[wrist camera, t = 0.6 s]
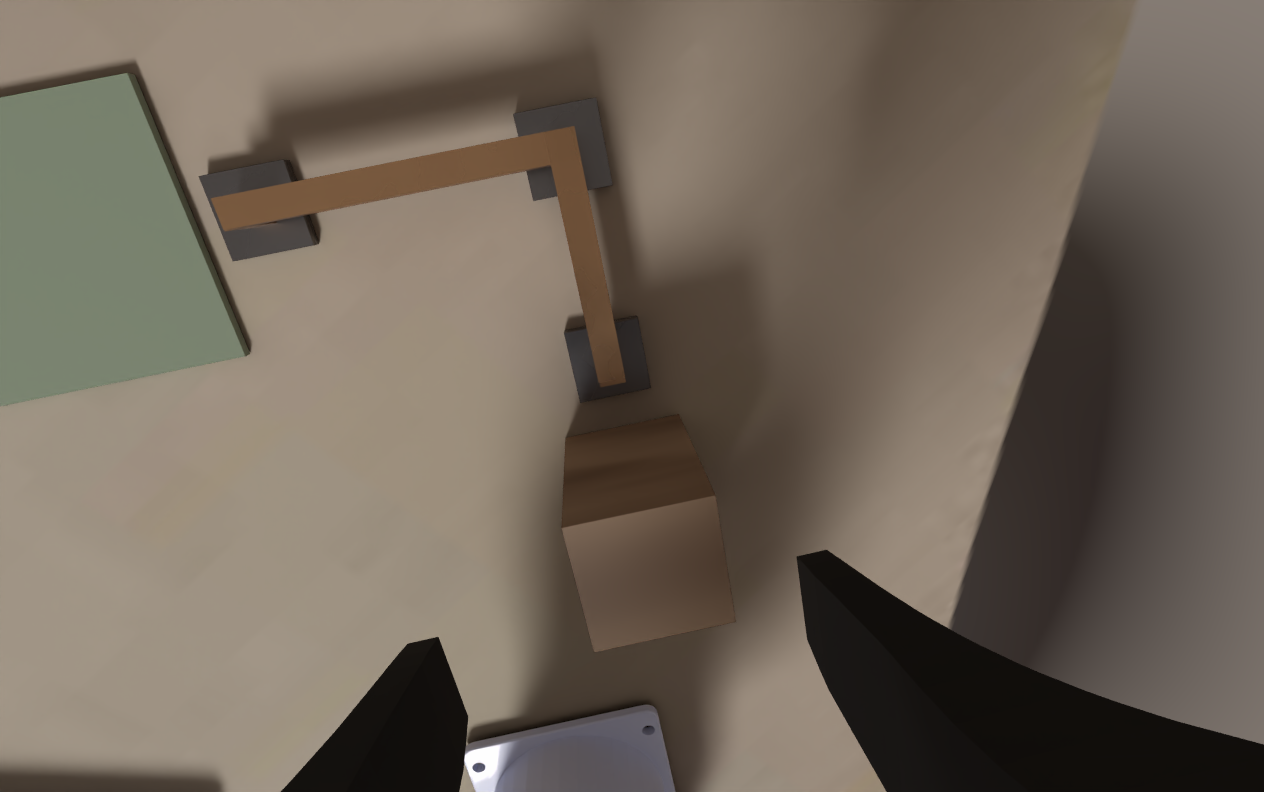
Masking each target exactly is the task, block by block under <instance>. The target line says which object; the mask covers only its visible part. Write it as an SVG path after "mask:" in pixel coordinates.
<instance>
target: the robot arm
mask: <svg viewBox="0 0 1264 792" xmlns="http://www.w3.org/2000/svg"><path fill="white" fill-rule="evenodd" d="M797 564H798V572H799V579H800V587H801V595H802V603H803V610H804V618H805V626H806V633H807V640H808V642H809V645H810V647H811V650H812V652H813V654H814V657H815V659H816V662H817V664H818V666H819V669H820V671H821V673H822V676H823V678H824V680H825V683H826V685H827V687H828V689H829V691H830V693H831V694H832V696H833V698H834V700H835V702H836V703H837V705H838V707H839V709H840V711H841V712H842V714H843V716H844V718H845V719H846V721H847V723H848V725H849V727H850V728H851V730H852V732H853V734H854V735H855V737H856V739H857V741H858V742H859V744H860V746H861V748H862V749H863V751H864V753H865V755H866V756H867V758H868V760H869V762H870V763H871V765H872V767H873V769H874V770H875V772H876V774H877V776H878V777H879V779H880V781H881V783H882V784H883V786H884V788H885V790H886V791H887V792H1264V745H1263V744H1259V743H1256V742H1252V741H1248V740H1245V739H1241V738H1237V737H1233V736H1230V735H1226V734H1222V733H1218V732H1215V731H1211V730H1207V729H1203V728H1200V727H1196V726H1192V725H1188V724H1185V723H1181V722H1177V721H1174V720H1171V719H1167V718H1164V717H1161V716H1158V715H1155V714H1152V713H1149V712H1146V711H1143V710H1140V709H1137V708H1133V707H1130V706H1127V705H1124V704H1121V703H1118V702H1115V701H1112V700H1109V699H1107V698H1104V697H1101V696H1098V695H1096V694H1093V693H1090V692H1087V691H1084V690H1082V689H1079V688H1077V687H1074V686H1072V685H1069V684H1067V683H1064V682H1062V681H1059V680H1057V679H1054V678H1051V677H1049V676H1046V675H1044V674H1041V673H1039V672H1037V671H1034V670H1032V669H1030V668H1028V667H1025V666H1023V665H1020V664H1018V663H1016V662H1014V661H1012V660H1010V659H1008V658H1006V657H1003V656H1001V655H999V654H997V653H995V652H993V651H991V650H989V649H987V648H984V647H982V646H980V645H978V644H976V643H974V642H972V641H970V640H969V639H967V638H965V637H963V636H961V635H959V634H957V633H955V632H954V631H952V630H950V629H948V628H947V627H945V626H943V625H941V624H939V623H938V622H936V621H934V620H932V619H931V618H929V617H927V616H925V615H924V614H922V613H920V612H919V611H917V610H916V609H914V608H912V607H911V606H909V605H908V604H906V603H905V602H903V601H901V600H900V599H898V598H897V597H895V596H893V595H892V594H890V593H889V592H887V591H886V590H884V589H883V588H881V587H880V586H878V585H877V584H875V583H874V582H872V581H871V580H870V579H868V578H867V577H865V576H864V575H862V574H861V573H859V572H858V571H857V570H855V569H854V568H852V567H851V566H849V565H848V564H847V563H845V562H844V561H842V560H841V559H839V558H838V557H836V556H835V555H833V554H832V553H830V552H829V551H828V550H824V551H819V552H815V553H810V554H806V555H801V556H797ZM467 725H468V715H467V712H466V710H465V707H464V704H463V701H462V699H461V696H460V693H459V691H458V688H457V685H456V683H455V680H454V677H453V675H452V672H451V669H450V667H449V664H448V661H447V659H446V656H445V653H444V651H443V648H442V645H441V643H440V640H439V637H436V638H431V639H427V640H422V641H418V642H413V643H409V644H407V645H406V646H405V648H404V649H403V650H402V651H401V652H400V653H399V654H398V656H397V657H396V658H395V659H394V660H393V662H392V663H391V664H390V665H389V666H388V668H387V669H386V670H385V671H384V673H383V674H382V675H381V676H380V678H379V679H378V680H377V681H376V682H375V684H374V685H373V686H372V687H371V689H370V690H369V691H368V692H367V694H366V695H365V696H364V697H363V698H362V700H361V701H360V702H359V703H358V704H357V706H356V707H355V708H354V709H353V711H352V712H351V713H350V714H349V715H348V717H347V718H346V719H345V720H344V721H343V723H342V724H341V725H340V726H339V727H338V729H337V730H336V731H335V732H334V733H333V734H332V736H331V737H330V738H329V739H328V740H327V741H326V742H325V743H324V745H323V746H322V747H321V748H320V749H319V750H318V751H317V752H316V753H315V755H314V756H313V757H312V758H311V759H310V760H309V761H308V762H307V764H306V765H305V766H304V767H303V768H302V769H301V770H300V771H299V773H298V774H297V775H296V776H295V777H294V778H293V779H292V780H291V781H290V782H289V784H288V785H287V786H286V787H285V788H284V789H283V790H282V791H281V792H459V790H460V785H461V780H462V775H463V768H464V763H465V765H466V768H467V771H468V773H469V776H470V779H471V781H472V784H473V786H474V789H475V792H676V791H675V787H674V782H673V778H672V773H671V769H670V765H669V760H668V756H667V752H666V747H665V743H664V738H663V734H662V730H661V725H660V721H659V717H658V712H657V710H656V708H655V707H653V706H651V705H641V706H636V707H631V708H627V709H622V710H618V711H613V712H609V713H604V714H599V715H595V716H590V717H586V718H581V719H576V720H572V721H567V722H563V723H558V724H554V725H549V726H544V727H540V728H535V729H531V730H526V731H521V732H517V733H512V734H508V735H503V736H499V737H494V738H489V739H485V740H480V741H476V742H472V743H470V744H468V745H467V746H466V737H467ZM650 725H651V726H650ZM645 726H650V727H645ZM478 763H483V764H478Z"/></svg>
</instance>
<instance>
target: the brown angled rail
mask: <svg viewBox="0 0 1264 792" xmlns="http://www.w3.org/2000/svg"><path fill="white" fill-rule="evenodd" d="M513 115H514V119H515V124H516V128H517V132H518V137H516V138H511V139H506V140H501V141H496V142H491V143H486V144H481V145H476V146H471V147H466V148H461V149H456V150H451V151H446V152H441V153H436V154H431V155H426V156H421V157H416V158H411V159H406V160H401V161H396V162H391V163H386V164H381V165H376V166H371V167H366V168H360V169H355V170H350V171H345V172H340V173H335V174H330V175H325V176H320V177H315V178H310V179H305V180H300V181H297V180H296V177H295V174H294V172H293V169H292V166H291V163H290V160H278V161H273V162H268V163H263V164H258V165H253V166H248V167H243V168H238V169H233V170H228V171H223V172H218V173H213V174H208V175H203V176H199V178H200V181H201V183H202V186H203V188H204V191H205V193H206V196H207V198H208V201H209V203H210V206H211V208H212V211H213V213H214V216H215V218H216V220H217V223H218V225H219V228H220V230H221V233H222V235H223V238H224V240H225V243H226V245H227V248H228V250H229V253H230V255H231V258H232V260H233V261H238V260H243V259H248V258H253V257H258V256H262V255H267V254H272V253H277V252H282V251H287V250H292V249H297V248H302V247H307V246H312V245H317V244H319V242H318V240H317V237H316V234H315V231H314V228H313V225H312V223H311V220H310V217H309V214H314V213H319V212H324V211H329V210H334V209H339V208H344V207H349V206H354V205H359V204H364V203H369V202H374V201H379V200H384V199H389V198H394V197H399V196H404V195H409V194H414V193H419V192H424V191H429V190H434V189H439V188H444V187H449V186H454V185H459V184H464V183H469V182H474V181H479V180H484V179H489V178H494V177H499V176H504V175H509V174H514V173H519V172H524V171H527V175H528V180H529V184H530V188H531V193H532V197H533V201H536V200H541V199H546V198H551V197H555V196H558V200H559V204H560V209H561V213H562V218H563V222H564V227H565V232H566V236H567V241H568V245H569V250H570V254H571V259H572V264H573V268H574V273H575V277H576V282H577V286H578V291H579V296H580V300H581V305H582V309H583V314H584V318H585V323H586V326H584V327H580V328H575V329H570V330H565V331H564V335H565V339H566V343H567V348H568V352H569V356H570V360H571V365H572V369H573V373H574V378H575V382H576V386H577V391H578V395H579V399H580V403H581V402H586V401H591V400H596V399H600V398H605V397H610V396H615V395H620V394H624V393H629V392H634V391H639V390H644V389H648V388H651V385H650V380H649V375H648V369H647V364H646V359H645V353H644V348H643V343H642V338H641V332H640V327H639V322H638V318H637V316H633V317H628V318H623V319H618V320H614V319H613V314H612V309H611V304H610V299H609V294H608V289H607V285H606V280H605V275H604V270H603V265H602V260H601V255H600V250H599V245H598V240H597V235H596V230H595V225H594V220H593V216H592V211H591V206H590V201H589V196H588V191H587V190H590V189H595V188H600V187H605V186H610V185H613V184H612V179H611V174H610V169H609V163H608V158H607V153H606V147H605V142H604V137H603V132H602V126H601V121H600V116H599V110H598V105H597V100H596V98H591V99H585V100H580V101H575V102H570V103H565V104H560V105H555V106H550V107H545V108H540V109H535V110H530V111H525V112H520V113H515V114H513Z"/></svg>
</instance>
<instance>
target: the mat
mask: <svg viewBox="0 0 1264 792" xmlns="http://www.w3.org/2000/svg"><path fill="white" fill-rule="evenodd" d="M249 354H250V352H249V350H248V347H247V345H246V343H245V340H244V338H243V335H242V333H241V330H240V328H239V326H238V323H237V321H236V318H235V316H234V314H233V311H232V309H231V306H230V304H229V301H228V299H227V297H226V294H225V292H224V289H223V287H222V285H221V282H220V280H219V277H218V275H217V272H216V270H215V268H214V265H213V263H212V260H211V258H210V256H209V253H208V251H207V248H206V246H205V243H204V241H203V239H202V236H201V234H200V231H199V229H198V227H197V224H196V222H195V219H194V217H193V214H192V212H191V210H190V207H189V205H188V202H187V200H186V198H185V195H184V193H183V190H182V188H181V185H180V183H179V181H178V178H177V176H176V173H175V171H174V169H173V166H172V164H171V161H170V159H169V156H168V154H167V152H166V149H165V147H164V144H163V142H162V140H161V137H160V135H159V132H158V130H157V127H156V125H155V123H154V120H153V118H152V115H151V113H150V111H149V108H148V106H147V103H146V101H145V98H144V96H143V94H142V91H141V89H140V86H139V84H138V82H137V79H136V77H135V75H133V74H130V73H124V74H119V75H114V76H108V77H103V78H98V79H93V80H88V81H83V82H78V83H73V84H67V85H62V86H57V87H52V88H47V89H42V90H37V91H31V92H26V93H21V94H16V95H11V96H6V97H1V98H0V406H4V405H9V404H14V403H19V402H24V401H29V400H34V399H39V398H43V397H48V396H53V395H58V394H63V393H68V392H73V391H78V390H83V389H88V388H92V387H97V386H102V385H107V384H112V383H117V382H122V381H127V380H132V379H136V378H141V377H146V376H151V375H156V374H161V373H166V372H171V371H176V370H180V369H185V368H190V367H195V366H200V365H205V364H210V363H215V362H220V361H224V360H229V359H234V358H239V357H244V356H247V355H249Z"/></svg>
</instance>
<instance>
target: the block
mask: <svg viewBox="0 0 1264 792" xmlns="http://www.w3.org/2000/svg"><path fill="white" fill-rule="evenodd" d="M562 532H563V536H564V540H565V543H566V547H567V551H568V555H569V559H570V562H571V566H572V570H573V574H574V578H575V582H576V585H577V589H578V593H579V597H580V601H581V604H582V608H583V612H584V616H585V620H586V623H587V627H588V631H589V635H590V639H591V643H592V646H593V650H594V652H599V651H603V650H608V649H613V648H617V647H622V646H627V645H631V644H636V643H640V642H645V641H650V640H654V639H659V638H664V637H668V636H673V635H677V634H682V633H687V632H691V631H696V630H701V629H705V628H710V627H714V626H719V625H724V624H728V623H733V622H736V618H735V612H734V606H733V600H732V594H731V588H730V581H729V575H728V569H727V563H726V557H725V551H724V544H723V538H722V532H721V526H720V520H719V514H718V507H717V501H716V495H715V493H714V491H713V489H712V487H711V484H710V482H709V480H708V478H707V475H706V473H705V471H704V469H703V467H702V464H701V462H700V460H699V458H698V456H697V453H696V451H695V449H694V447H693V445H692V442H691V440H690V438H689V436H688V434H687V431H686V429H685V427H684V425H683V423H682V420H681V418H680V416H679V414H677V415H672V416H668V417H663V418H658V419H653V420H648V421H644V422H639V423H634V424H629V425H624V426H620V427H615V428H610V429H605V430H601V431H596V432H591V433H586V434H581V435H577V436H572V437H567V438H566V440H565V462H564V484H563V506H562Z"/></svg>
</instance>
